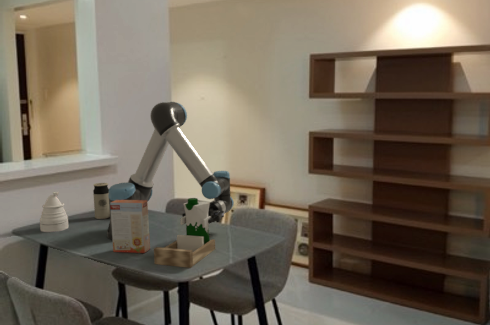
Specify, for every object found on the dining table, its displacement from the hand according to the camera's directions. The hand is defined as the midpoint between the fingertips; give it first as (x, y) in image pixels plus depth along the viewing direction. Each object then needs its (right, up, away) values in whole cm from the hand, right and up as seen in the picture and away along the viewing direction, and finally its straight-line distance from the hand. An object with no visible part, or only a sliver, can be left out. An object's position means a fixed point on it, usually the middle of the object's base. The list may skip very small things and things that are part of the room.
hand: (192, 222), depth 197 cm
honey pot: (-72, -9, +45) cm, 85 cm away
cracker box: (-26, -13, +6) cm, 29 cm away
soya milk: (+2, -10, +6) cm, 12 cm away
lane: (-2, -13, -2) cm, 13 cm away
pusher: (-1, -12, +1) cm, 12 cm away
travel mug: (-54, -5, +65) cm, 85 cm away
